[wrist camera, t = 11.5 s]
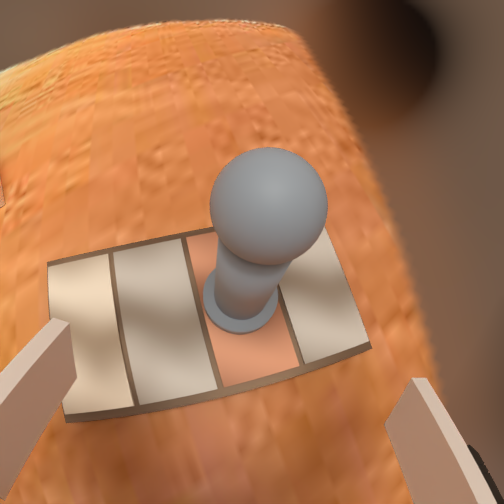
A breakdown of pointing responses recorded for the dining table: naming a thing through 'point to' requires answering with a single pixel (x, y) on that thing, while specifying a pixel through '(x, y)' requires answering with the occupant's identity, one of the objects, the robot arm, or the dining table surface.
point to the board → (190, 326)
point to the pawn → (260, 233)
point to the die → (1, 196)
